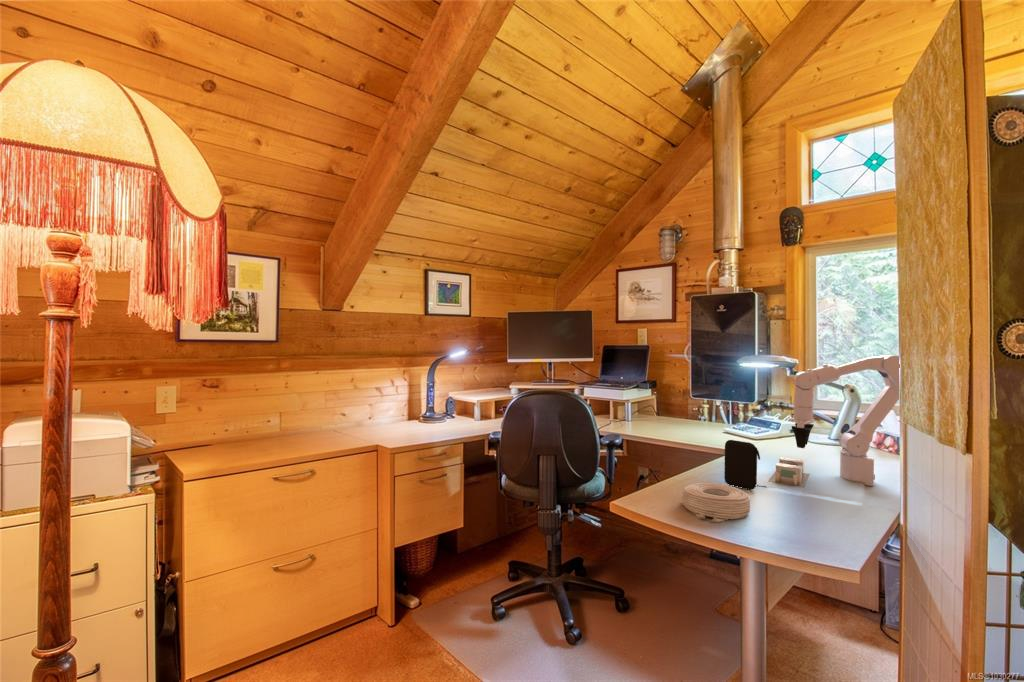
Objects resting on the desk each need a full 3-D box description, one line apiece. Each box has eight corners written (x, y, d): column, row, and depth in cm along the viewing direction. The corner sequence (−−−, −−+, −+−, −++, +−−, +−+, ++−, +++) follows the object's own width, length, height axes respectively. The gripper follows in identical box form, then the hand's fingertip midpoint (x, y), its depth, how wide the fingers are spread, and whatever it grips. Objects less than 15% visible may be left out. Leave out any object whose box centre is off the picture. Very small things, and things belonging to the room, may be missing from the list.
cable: (708, 525, 122) (709, 501, 122) (668, 502, 139) (668, 481, 139) (765, 519, 127) (765, 496, 127) (719, 498, 143) (719, 477, 143)
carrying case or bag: (761, 490, 150) (761, 443, 150) (757, 493, 147) (758, 445, 147) (726, 483, 157) (727, 438, 157) (722, 485, 155) (723, 439, 155)
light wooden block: (801, 481, 156) (801, 466, 156) (800, 484, 153) (800, 468, 153) (777, 477, 161) (777, 462, 161) (775, 480, 157) (775, 465, 157)
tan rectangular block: (804, 474, 165) (804, 460, 165) (802, 477, 161) (803, 462, 161) (780, 471, 169) (781, 456, 169) (779, 473, 165) (779, 459, 165)
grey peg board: (810, 476, 166) (810, 465, 166) (803, 490, 150) (804, 477, 150) (777, 471, 172) (777, 460, 172) (768, 484, 156) (768, 472, 156)
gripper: (792, 403, 175) (791, 440, 175) (787, 407, 163) (786, 447, 163) (815, 405, 170) (814, 443, 171) (811, 409, 159) (810, 451, 159)
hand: (802, 445), depth 167 cm, fingers open, 7 cm apart
